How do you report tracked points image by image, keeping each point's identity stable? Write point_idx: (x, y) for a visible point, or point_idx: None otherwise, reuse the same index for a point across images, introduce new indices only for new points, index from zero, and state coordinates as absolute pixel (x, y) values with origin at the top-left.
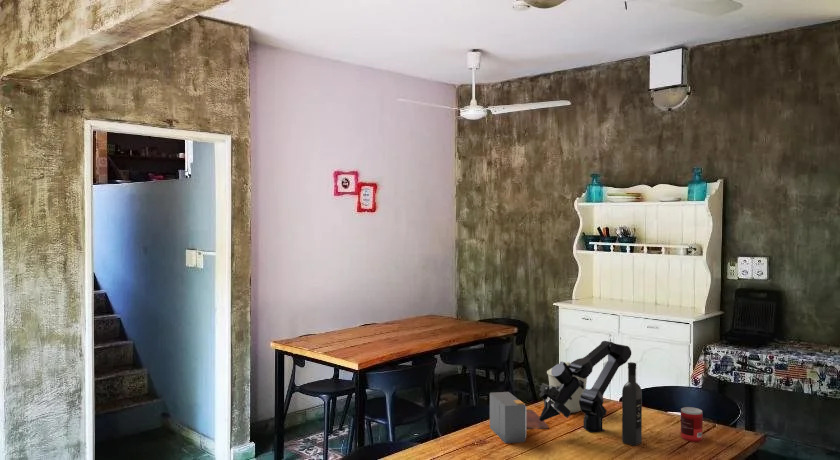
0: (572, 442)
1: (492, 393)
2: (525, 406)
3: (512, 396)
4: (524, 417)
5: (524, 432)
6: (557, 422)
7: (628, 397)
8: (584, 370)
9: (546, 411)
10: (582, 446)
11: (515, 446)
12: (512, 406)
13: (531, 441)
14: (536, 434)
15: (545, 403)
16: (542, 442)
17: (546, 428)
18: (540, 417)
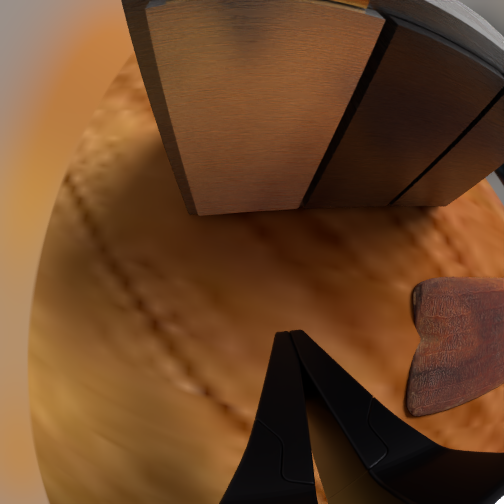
0: (158, 485)
1: (478, 15)
2: (170, 2)
3: (492, 38)
4: (150, 95)
5: (179, 180)
6: (465, 450)
7: None
8: None
9: (244, 453)
10: (102, 492)
11: (137, 153)
12: None
13: (193, 254)
14: (325, 325)
15: (434, 498)
16: (165, 320)
17: (408, 403)
18: (291, 346)
